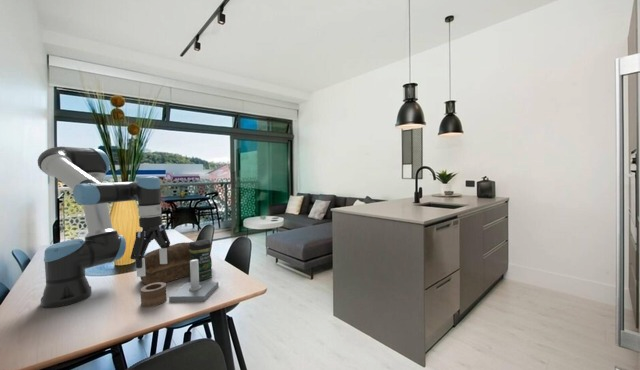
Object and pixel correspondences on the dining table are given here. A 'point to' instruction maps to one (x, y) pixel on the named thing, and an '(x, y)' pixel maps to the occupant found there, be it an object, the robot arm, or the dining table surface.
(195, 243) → the coffee jar
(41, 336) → the dining table surface
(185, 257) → the bread
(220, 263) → the dining table surface
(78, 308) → the dining table surface
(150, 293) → the ring
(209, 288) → the post block
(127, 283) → the dining table surface
